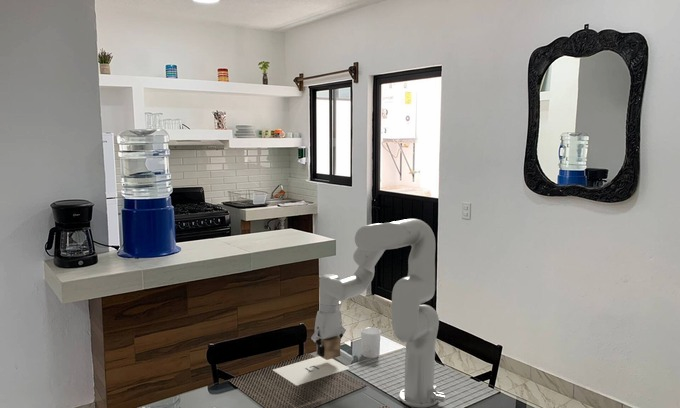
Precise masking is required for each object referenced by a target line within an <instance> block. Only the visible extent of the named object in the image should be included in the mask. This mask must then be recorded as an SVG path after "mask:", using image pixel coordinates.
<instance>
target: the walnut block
mask: <svg viewBox="0 0 680 408" xmlns="http://www.w3.org/2000/svg"><path fill="white" fill-rule="evenodd" d="M318 337H319V336H317V339H318ZM321 340H322V339H321ZM341 341H342V338H339V337H336V336H335V337H331V338H328V339H325V340H324V344H323V346H324V357H322V356H320V355H318V345H317V344H316V356H317V357H318V356H320V357H322V358H324V359H326V360H329V359H335V358H339V357H341ZM320 342H321V341H320Z"/></svg>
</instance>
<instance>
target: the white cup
mask: <svg viewBox="0 0 680 408" xmlns="http://www.w3.org/2000/svg"><path fill="white" fill-rule="evenodd" d="M381 332H382V330H381V329H380V328H378V327H371V326H370V327H369V326H368V327H362V328H361V330H360V337H361V338H360V344H361V355H362V357H364V358H367V359H373V358H375V359H376V358H377V357H379V354H380V345H381V337H382V333H381Z"/></svg>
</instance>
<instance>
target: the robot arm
mask: <svg viewBox="0 0 680 408" xmlns="http://www.w3.org/2000/svg"><path fill="white" fill-rule="evenodd" d="M354 243H355V246H356V250H355V251H354V253H353V257H352V258H353V261H354V262H355V263H356V265H358V267H357V269H356V270H355V272H354V273H353V275H351V276H347V277H344V278H341V277H340V276H339V275H338V274H333V273H326V274H322V275H321V276H320V279H319V310H318V311H317V313H316V317H315V320H314V321H315V322H314V323H315V324H314V333H313V334H312V335H311V337H310V338H311V340H312V341H313V342H314V344H315V345H316V346H317V345H318V355H320V356H322V357H324V346H323V344H324V340H325V339H328V338H331V337H335V336H336V337H339V338H341V339H342V338H343V336H344V334H345V332H346V330H347V328H345V327H344V326H343V319H342V313H341V312H342V311H341V309H340V307H341V306H342V301H346V300H348V299H351V298H354V297H357V296H360V295H362V294H363V293H364V292H365V291H366V290H367V289H368V287H369V286H370V284H371V282H372V281H373V279H374V277H375V272H376V271H375V266H376V265H377V263H378V261H379V260H380V258H382V256H383V254H384V252H385V251H386V250H394V249H399V248H403V247H408V246H411V249H410V252H409V255H408V260H407V262H408V263H407V264H408V265H407V266H408V267H407V268H408V270H407V276H404V277H401V278H400V279H399V280H397V281H396V282H395V284H394V286H393V288H392V292H391V326H392V331H393V334H394V336H395V337H396V338H397V339H398V341H401V342H402V343H405V358H404V362H405V363H404V388H403V389H402V390H400V392H399V393H398V395H399V396H398V397H399V400H400V401H401V402H402V403H404V404H405V405H406V406H410V407H412V408H431V407H433V406H435V405H436V404H437V403H438V401H439V402H442V403H445V402H446V396H445V393H444V392H441V391H438V390H437V385H435V384H434V383H435V382H434V381H435V363H436V362H435V360H436V359H435V357H436V343H437V336H438V331H439V326H440V325H439V324H440V321H439V320H440V318H439V314H438V312H437V311H436V309H435V308H433V307H432V306H431V305H429V304H424V303H426V302H429V301H431V299H433V297H434V296H435V291H436V237H435V234H434V232H433V230H432V228H431V227H430V225H429V224H428V223H426V222H425V221H423V220H422V219H418V218H407V219H401V220H396V221H395V220H394V221H391V222H384V223H382V222H381V223H379V222H378V223H371V224H366V225H362V226H361V227H359V229H357V230H356V233H355V236H354ZM318 336H319V337H318ZM317 337H318V339H317ZM321 339H322V340H321ZM320 341H321V342H320ZM318 355H317V356H318Z"/></svg>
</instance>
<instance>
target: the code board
mask: <svg viewBox="0 0 680 408" xmlns="http://www.w3.org/2000/svg"><path fill="white" fill-rule="evenodd" d="M349 369H350V367H348V366H347V365H345V364H343V363H341V362H339V361H337V360H336V359H335V358H332V359H329V360H326V359H324V358H322V357H320V356H318V355H317V356H315V357H312V358H308V359H304V360H301V361H297V362H295V363H291V364H287V365H285V366H280V367H277V368H273V369H272V371H274V372H275V373H276V374H278V375H280V376H281V377H283V378H284V379H286V381H288V382H290V383H292V384H293V385H294V386H296V387H297V386H300V385H303V384H307V383H310V382H312V381H315V380H319V379H321V378H325V377H328V376H331V375H334V374H337V373H341V372H343V371H346V370H349Z"/></svg>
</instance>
